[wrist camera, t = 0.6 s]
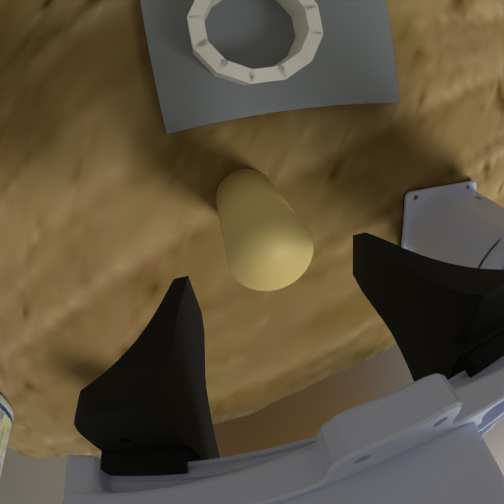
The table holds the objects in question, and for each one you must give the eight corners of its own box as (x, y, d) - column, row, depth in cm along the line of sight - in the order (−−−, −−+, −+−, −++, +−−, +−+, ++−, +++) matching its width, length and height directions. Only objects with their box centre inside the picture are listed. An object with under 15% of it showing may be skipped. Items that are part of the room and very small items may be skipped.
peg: (269, 163, 20) (310, 205, 13) (276, 216, 22) (315, 279, 15) (210, 175, 19) (218, 225, 13) (222, 228, 22) (236, 299, 15)
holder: (370, -29, 13) (395, -42, 10) (391, 101, 19) (421, 106, 16) (139, -17, 12) (129, -37, 9) (168, 132, 18) (162, 140, 15)
